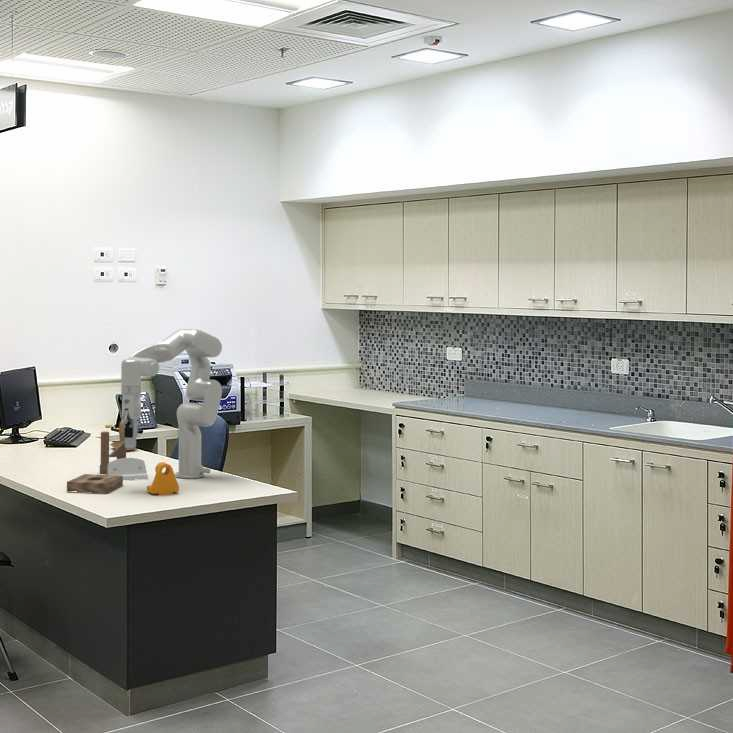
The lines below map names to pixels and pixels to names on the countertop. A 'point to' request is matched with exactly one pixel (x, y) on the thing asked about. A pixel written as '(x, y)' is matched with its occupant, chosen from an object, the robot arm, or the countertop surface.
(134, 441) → the peg
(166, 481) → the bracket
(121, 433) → the brown flared piece
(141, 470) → the hinge
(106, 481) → the board
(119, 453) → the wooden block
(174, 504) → the countertop surface
